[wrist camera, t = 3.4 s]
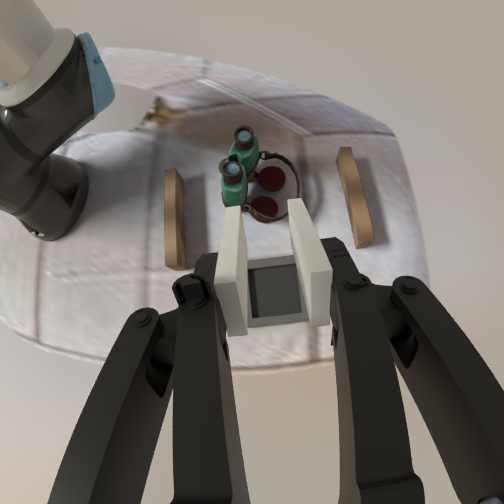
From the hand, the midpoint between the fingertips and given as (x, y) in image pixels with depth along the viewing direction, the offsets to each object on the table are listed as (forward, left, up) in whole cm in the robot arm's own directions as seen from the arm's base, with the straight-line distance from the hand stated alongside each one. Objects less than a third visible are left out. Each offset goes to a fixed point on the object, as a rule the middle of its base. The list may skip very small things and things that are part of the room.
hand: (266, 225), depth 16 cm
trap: (-1, -2, -20) cm, 20 cm away
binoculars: (+6, +10, -20) cm, 23 cm away
